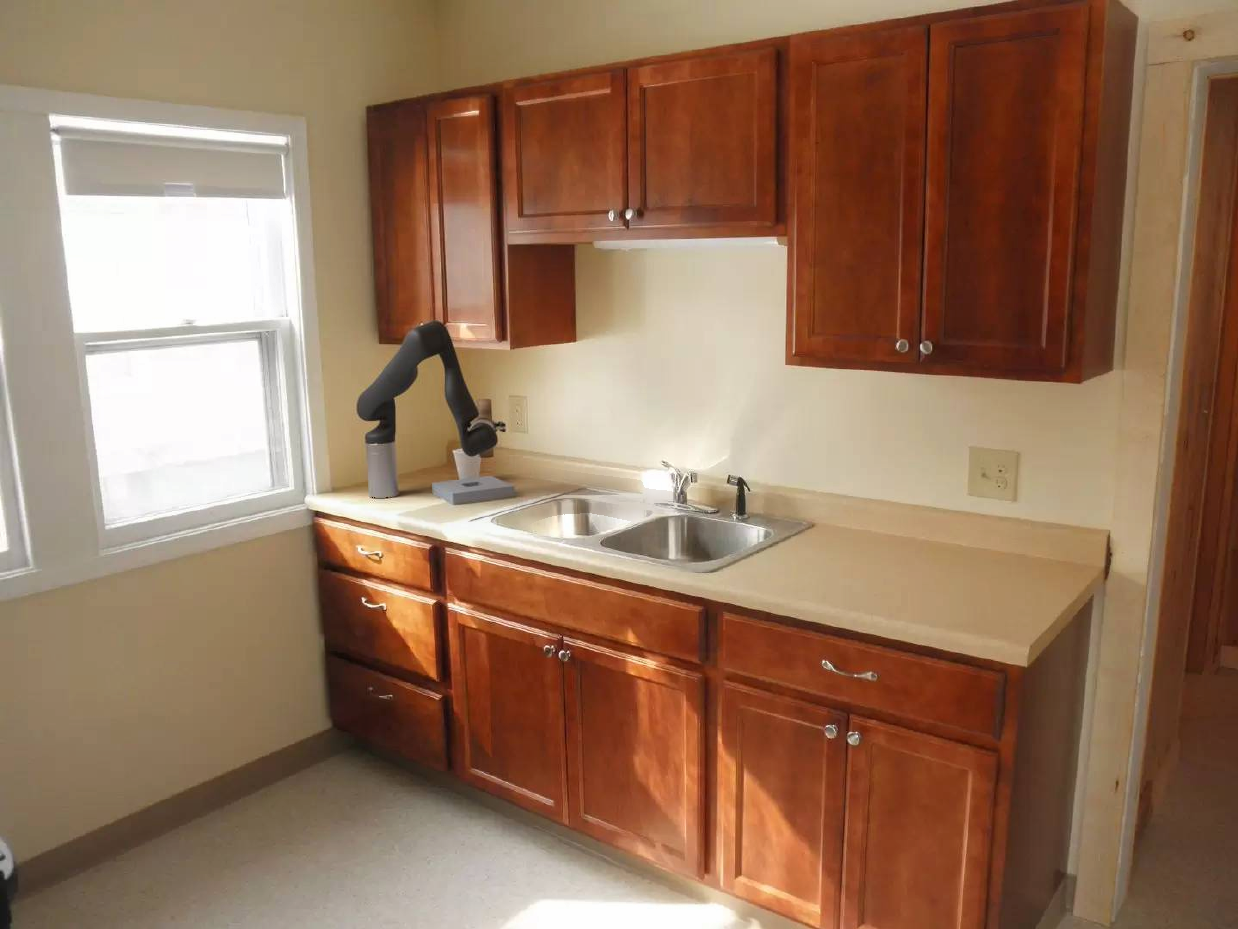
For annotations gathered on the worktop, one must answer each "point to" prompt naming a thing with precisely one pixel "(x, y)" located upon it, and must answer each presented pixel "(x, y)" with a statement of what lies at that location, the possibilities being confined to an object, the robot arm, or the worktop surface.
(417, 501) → the worktop surface
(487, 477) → the socket block
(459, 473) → the cup
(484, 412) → the dowel
